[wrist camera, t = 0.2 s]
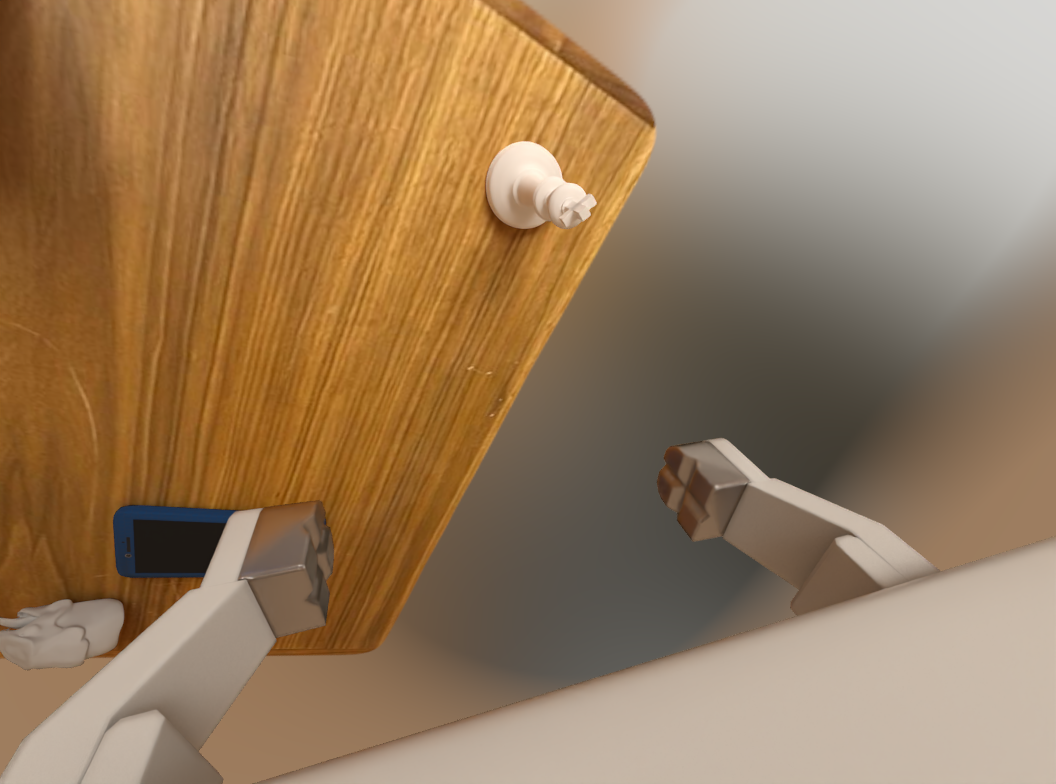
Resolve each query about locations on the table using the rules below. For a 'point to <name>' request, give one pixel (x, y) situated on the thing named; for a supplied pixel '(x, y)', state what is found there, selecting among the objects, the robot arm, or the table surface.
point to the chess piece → (533, 189)
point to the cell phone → (166, 540)
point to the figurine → (61, 633)
